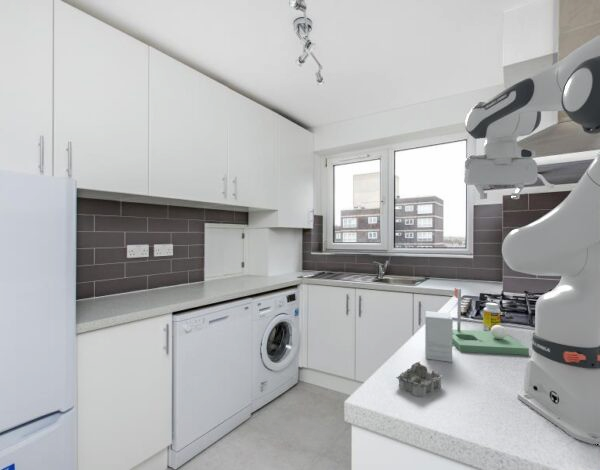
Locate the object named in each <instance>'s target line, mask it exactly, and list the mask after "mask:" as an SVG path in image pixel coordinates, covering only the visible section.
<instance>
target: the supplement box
mask: <svg viewBox="0 0 600 470" xmlns="http://www.w3.org/2000/svg"><path fill="white" fill-rule="evenodd" d="M424 318H425V319H424V321H425V322H424V323H425V325H424V326H425V327H424V328H425V333H424V335H425V338H424V339H425V342H424V343H425V345H424V350H425V351H424V352H425V359H427V360H435V361H441V362H449V363H452V362H453V344H452V330H454V329H453V326H454V325H453V322H454V320H453V317H452V314H451V312H442V311H441V312H440V311H438V312H437V311H431V310H430V311H429V310H426V311H425V316H424Z"/></svg>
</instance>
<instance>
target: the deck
mask: <svg viewBox="0 0 600 470" xmlns="http://www.w3.org/2000/svg"><path fill="white" fill-rule="evenodd" d="M454 297H455V298H457V323H456V325H457V326H456V329H453V330H452V346H454V347H455V348H456V350H458V351H459V352H463V353H464V352H466V353H468V352H470V353H485V354H500V355H501V354H504V355H520V356H521V355H522V356H523V355H524V356H529V355H530V353H529V351H530V350H529V349H530V348H529V347H527V346H526V345H524V344H523V343H520V342H519V341H518V340H517V339H514V338H513V337H512V336H510V335H508V334H506V336H505V338H503V339H496V338H495V337H493V336H492V334H491V331H486V330H471V329H461V319H462V317H461V314H462V288H457V287H454Z"/></svg>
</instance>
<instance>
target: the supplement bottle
mask: <svg viewBox="0 0 600 470" xmlns="http://www.w3.org/2000/svg"><path fill="white" fill-rule="evenodd" d="M482 313H483V315H482V316H483V317H482V318H483V319H482V328H483V329H482V330H483V331H491V328H492V327H493V326H495V325H500V326H501V309H499V304H498V303H495V302H486V303H485V307H484V308H483V311H482Z"/></svg>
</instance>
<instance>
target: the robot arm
mask: <svg viewBox="0 0 600 470" xmlns="http://www.w3.org/2000/svg"><path fill="white" fill-rule="evenodd" d="M561 111H564V113H565V114H566V115H567V117H568V118H569V119H570V120H571V121H573V122H574V123H576V124H578V125H580V126H581V127H582V129H583V131H584V132H585V134H586V133H587V134H589V135H597V134H599V133H600V34H599V35H597V36H596V37H594V38H591V39H590V40H589V41H587V42H585V43H584V44H582V45H581V46H579V47H578V48H576V49H575V50H573V51H572V52H571V53H568V55H567V56H565V57H563V58H562V59H560V60H559V61H557V62H555V63H554V64H552V65H551V66H548V67H547V68H545V69H543V70H541V71H540V72H537V73H535V74H533V75H532V76H530V77H527V78H525V79H523V80H521V81H518V82H517V83H515V84H513V85H510V86H509V87H508V88H505V90H502V92H500V93H498V94H496V95H495V96H493V97H491V98H490V99H488V100H487V101H480V102H479V101H478V102H477V103H476V104H475V105H474V106H473V107H472V108H471V109H469V111H468V113H467V115H466V118H465V129H466V132H467V133H468V134H469V135H470V136H471V137H472V138H473V139H475V140H478V139H485V142H484V147H483V154H479V155H470V156H468V157H467V158H466V159H465V161H464V168H465V173H464V184H465V185H466V186H475V187H476V190H477V192H478V193H479V200H487V199H488V192H485V191H484V190H483V188H484V186H493V185H494V186H502V185H503V186H504V185H505V186H507V185H508V186H509V185H512V186H513V185H515V186H514V187H515V189H516V190H515V191H514V192H512V193H511V199H512V200H518V199H520V197H521V196H520V193H522V191H523V189H524V188H525V185H533V184H536V182H537V180H538V175H539V174H538V164H537V161H536V160H535V159H534V158H535V157H536V151H535V150H532V149H528V148H525V147H522V146H519V145H518V140H517V139H518V138H519V137H525V136H529V135H530V134H532V133H533V132H534V131H536V130H537V128H538V127H540V124H541V120H542V112H561ZM501 254H502V259H503V260H504V263H505V264H506V265H507V266H508V267H509V268H510V269H511V270H512V271H514V272H519V273H523V274H527V275H534V276H543V277H544V276H545V277H546V276H547V277H561V278H560V280H559V283H558V284H557V285H556V286H555V287H554V288H553V289H551V291H548V292H545V293H543V294H542V295H540V296H539V297H538V299H537V300H536V302H535V306H534V307H535V308H534V309H535V316H534V320H535V321H534V332H533V333H532V337H531V348H532V350H533V352H532V355H531V356H530V357H529V359H528V360H527V362H526V365H525V374H524V379H523V389H522V390H520V391H518V393H517V399H518V400H520V401H522V402H523V403H524V404H526V405H527V406H528V407H530V408H531V409H532V410H534V411H535V412H537V413H538V414H540V415H541V416H542V417H544V418H545V419H547V420H548V421H550V422H551V423H552V424H554V425H555V426H557V427H558V428H559V429H561V430H562V431H564V432H566V433H567V434H568V435H570V436H571V437H573V438H575V439H577V440H579V441H581V442H585V443H588V444H592V445H595V444H596V445H597V444H600V151H599V152H598V154H597V155H596V156H595V158H594V159H593V160H592V162H591V163H590V164H589V165H588V168H587V169H586V170H585V172H584V173H583V175H582V176H581V178H580V179H578V182H577V183H576V184H575V186H574V187H573V189H572V190H571V191H570V193H569V194H567V197H565V198H564V199H563V201H562V202H560V203H559V204H558V205H557V206H555V208H553V209H551V210H550V211H549V212H548V213H546V214H544V215H542V217H539V218H538V219H536V220H535V221H533V222H531V223H529V224H527V225H524V226H521V227H519V228H515V229H512V230H511V231H509V232H508V234H507V235H506V236H505V237H504V240H503V241H502V244H501ZM597 446H598V445H597Z"/></svg>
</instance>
